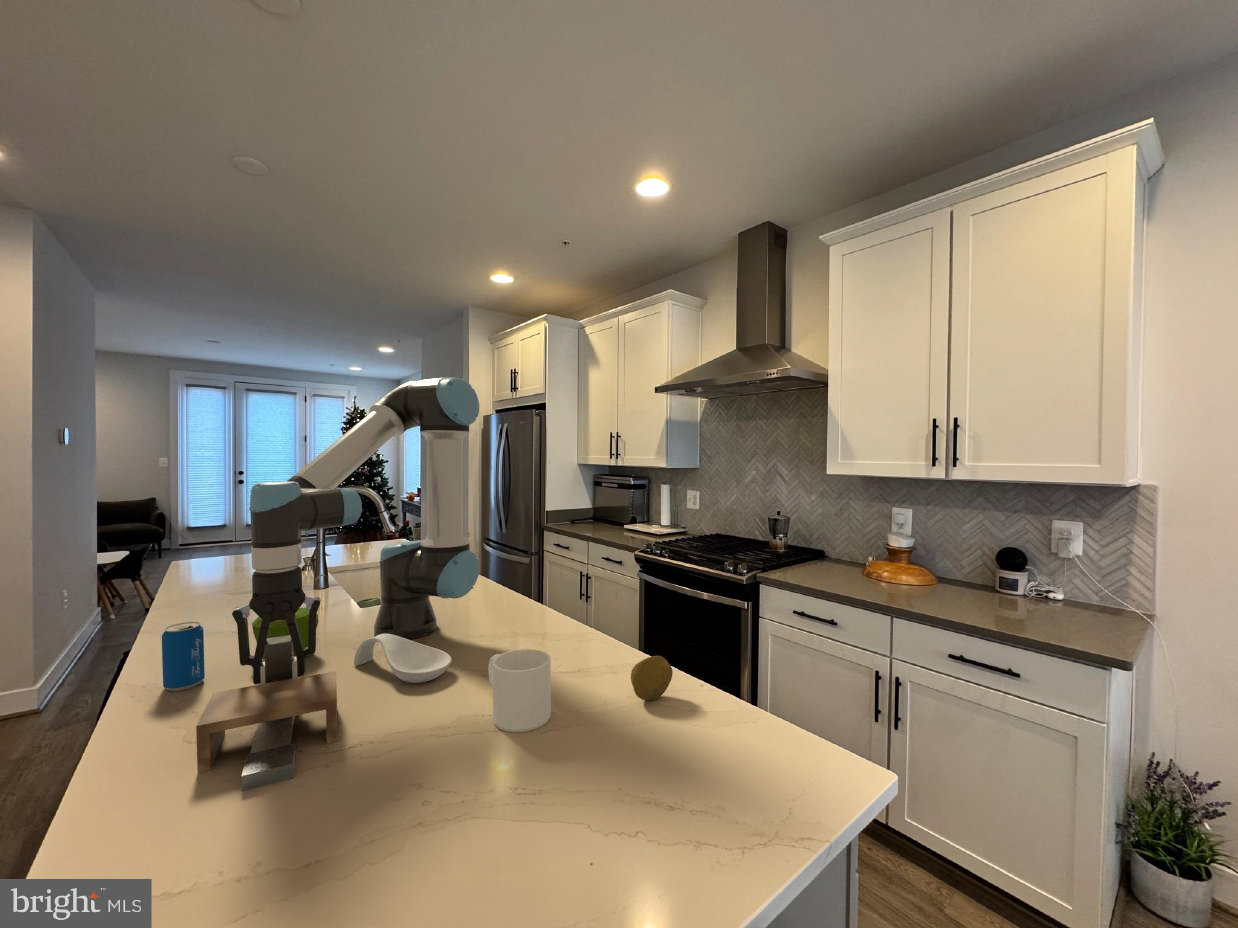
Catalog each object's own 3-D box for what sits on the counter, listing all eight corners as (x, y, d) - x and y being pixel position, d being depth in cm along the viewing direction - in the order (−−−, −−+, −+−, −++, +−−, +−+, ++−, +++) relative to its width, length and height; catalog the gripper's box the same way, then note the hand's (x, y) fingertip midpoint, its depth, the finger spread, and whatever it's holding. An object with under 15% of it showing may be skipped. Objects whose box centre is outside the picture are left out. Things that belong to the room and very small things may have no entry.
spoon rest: (463, 672, 113) (463, 638, 113) (421, 695, 102) (421, 658, 102) (382, 654, 123) (382, 623, 123) (337, 674, 112) (336, 640, 112)
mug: (562, 713, 95) (562, 656, 94) (523, 739, 86) (522, 676, 86) (511, 695, 101) (510, 642, 101) (470, 718, 93) (469, 660, 93)
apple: (257, 673, 112) (256, 620, 112) (249, 656, 121) (248, 607, 121) (323, 658, 120) (323, 608, 120) (311, 643, 130) (310, 597, 129)
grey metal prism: (297, 698, 99) (296, 634, 98) (289, 750, 81) (287, 672, 81) (265, 704, 96) (263, 638, 96) (249, 759, 79) (247, 679, 78)
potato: (626, 705, 97) (626, 662, 97) (639, 687, 105) (639, 647, 104) (663, 711, 95) (663, 667, 95) (673, 693, 102) (673, 651, 102)
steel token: (295, 759, 81) (295, 743, 81) (292, 780, 76) (292, 763, 76) (248, 770, 79) (247, 753, 79) (241, 793, 73) (241, 775, 73)
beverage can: (181, 693, 103) (179, 632, 103) (154, 691, 104) (152, 630, 104) (212, 679, 109) (211, 621, 109) (187, 677, 110) (185, 619, 110)
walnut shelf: (337, 708, 96) (336, 670, 96) (337, 740, 86) (336, 697, 86) (214, 734, 88) (212, 692, 88) (197, 773, 77) (196, 725, 77)
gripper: (331, 559, 102) (334, 679, 103) (222, 569, 94) (225, 699, 95) (331, 567, 96) (334, 694, 96) (213, 578, 88) (217, 717, 88)
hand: (280, 696), depth 96 cm, fingers closed on grey metal prism, 4 cm apart
